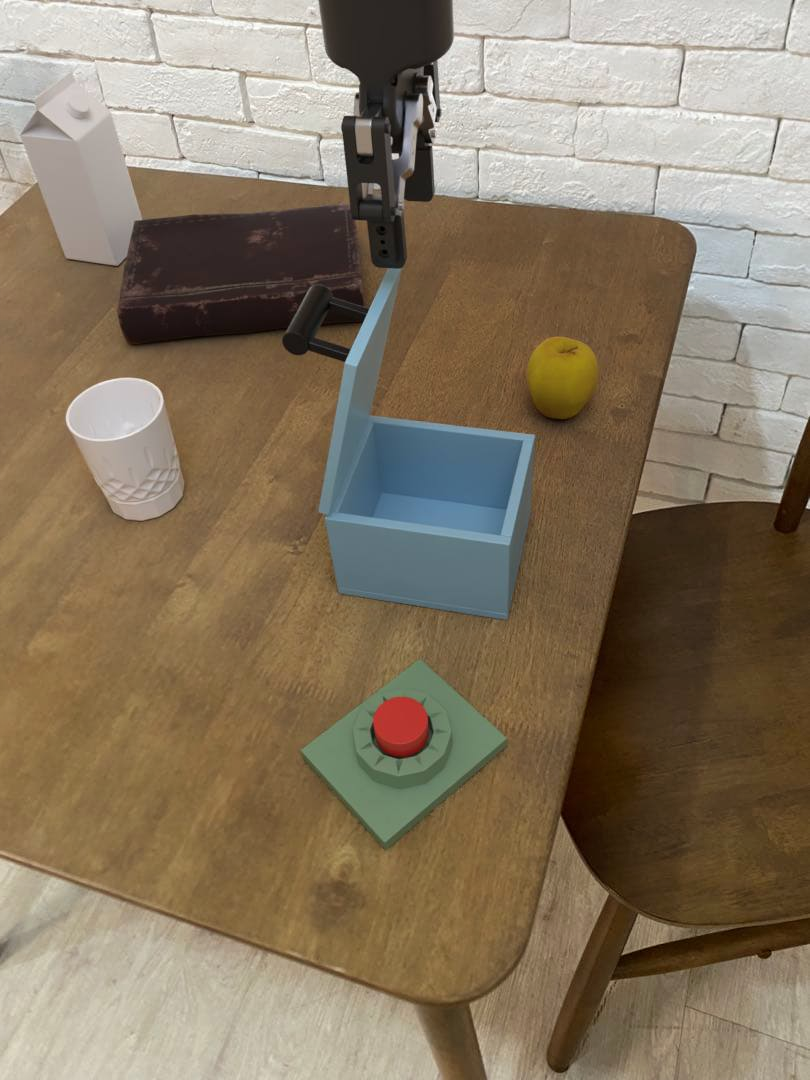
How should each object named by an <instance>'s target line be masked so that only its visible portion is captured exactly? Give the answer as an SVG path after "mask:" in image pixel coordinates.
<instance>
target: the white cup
mask: <svg viewBox="0 0 810 1080" xmlns="http://www.w3.org/2000/svg"><path fill="white" fill-rule="evenodd" d="M65 424H66V426H67V428H68V430H69V432H70V434H71V436H72V438H73V440H74V442H75V444H76V446H77V448H78V450H79V452H80V454H81V456H82V458H83V460H84V462H85V464H86V466H87V467H88V469H89V471H90V473H91V475H92V477H93V479H94V481H95V483H96V485H97V486H98V488H99V489H100V490H101V491H102V493H103V495H104V497H105V498H106V501H107V502H108V505H109V507H110V508H111V510H112V512H113V514H115V515H117V516H119V517H121V518H122V519H124V520H127V521H138V522H139V521H140V522H142V521H147V520H152V519H156V518H160V517H161V516H163V515H164V514H166V513H168V512H169V511H171V510H173V509H174V508H175V507H176V505H177V504H178V503H179V502H180V501H181V499H182V498H183V496H184V491H185V480H184V477H183V472H182V468H181V465H180V458H179V453H178V450H177V449H178V448H177V446H176V440H175V436H174V433H173V429H172V425H171V422H170V418H169V414H168V411H167V406H166V403H165V399H164V394H163V393H162V391H161V390H160V388H159V387H158V386H157V385H155V384H154V383H152V382H150V381H148V380H146V379H143V378H137V377H118V378H112V379H108V380H105V381H100V382H98V383H95V384H94V385H92V386H90V387H88V388H86V389H85V390H83V391H82V392H81V393H79V394H78V395H77V396H76V397H75V398H74V399H73V400H72V401H71V403H70V404H69V406H68V408H67V410H66V413H65Z"/></svg>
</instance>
